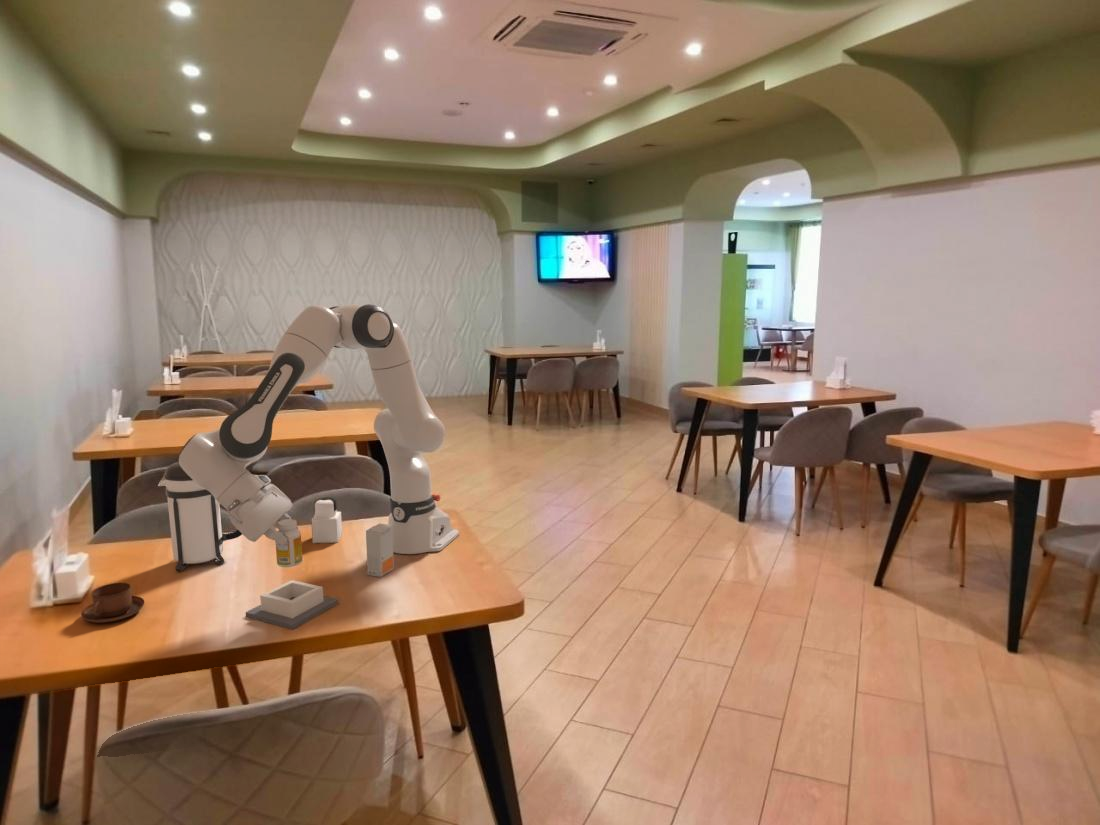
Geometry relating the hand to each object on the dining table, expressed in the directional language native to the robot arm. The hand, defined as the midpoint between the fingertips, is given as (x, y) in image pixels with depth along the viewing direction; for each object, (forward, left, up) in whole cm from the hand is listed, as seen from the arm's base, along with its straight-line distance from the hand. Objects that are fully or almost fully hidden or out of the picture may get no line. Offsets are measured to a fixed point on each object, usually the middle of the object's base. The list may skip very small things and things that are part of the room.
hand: (290, 536), depth 158 cm
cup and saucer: (+19, -35, -18) cm, 44 cm away
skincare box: (-26, +3, -18) cm, 31 cm away
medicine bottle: (-39, -27, -18) cm, 50 cm away
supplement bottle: (0, -1, -6) cm, 6 cm away
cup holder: (0, -1, -17) cm, 17 cm away
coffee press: (-12, -45, -18) cm, 49 cm away
